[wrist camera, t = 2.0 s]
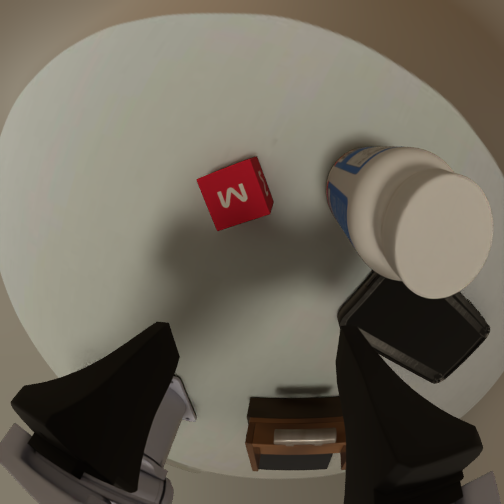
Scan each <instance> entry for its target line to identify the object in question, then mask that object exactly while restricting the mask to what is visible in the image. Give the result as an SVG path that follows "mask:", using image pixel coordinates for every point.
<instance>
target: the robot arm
mask: <svg viewBox="0 0 504 504" xmlns="http://www.w3.org/2000/svg"><path fill="white" fill-rule="evenodd" d="M179 357H180V356H179V353H178V350H177V347H176V344H175V341H174V338H173V334H172V331H171V328H170V324H169V323H166V322H156V323H154V324H153V325H151V326H150V327H148V328H147V329H145V330H144V331H142V332H141V333H140V334H138V335H137V336H135V337H134V338H133V339H131V340H130V341H128V342H127V343H125V344H124V345H123V346H121V347H120V348H118V349H117V350H115V351H113V352H112V353H110V354H109V355H107V356H106V357H104V358H102V359H101V360H99V361H97V362H95V363H93V364H91V365H89V366H87V367H85V368H83V369H81V370H79V371H76V372H74V373H71V374H69V375H66V376H64V377H61V378H57V379H54V380H51V381H47V382H43V383H38V384H32V385H26V386H24V387H22V389H21V390H20V391H19V392H18V393H17V395H16V396H15V397H14V398H13V400H12V401H11V406H12V407H13V409H14V410H15V412H16V413H17V414H18V415H19V416H20V418H21V419H22V420H23V421H24V422H25V423H26V424H27V425H28V426H29V427H30V429H31V430H32V431H34V434H33V436H31V435H30V434H29V433H27V432H26V431H25V430H24V429H22V428H21V427H20V426H19V425H17V424H16V423H14V424H13V425H12V427H11V428H10V430H9V431H8V432H7V434H6V435H5V437H4V438H3V440H2V441H1V442H0V463H1V465H2V466H3V467H4V468H5V469H6V470H7V471H8V472H9V473H10V474H11V475H12V476H13V477H14V479H15V480H16V481H17V482H18V483H19V484H20V485H21V486H22V487H23V488H24V489H25V490H26V491H27V492H28V493H29V494H30V495H31V496H32V497H33V498H34V499H35V500H36V501H37V502H38V503H39V504H172V500H173V493H174V492H173V487H172V485H171V482H170V480H169V479H168V478H166V474H167V472H168V471H167V470H166V469H164V468H163V467H164V464H165V462H166V459H167V457H168V454H169V452H170V449H171V446H172V444H173V441H174V439H175V436H176V433H177V431H178V428H179V426H180V423H181V420H187V421H193V422H194V421H196V419H197V418H196V415H195V413H194V411H193V409H192V406H191V404H190V402H189V399H188V397H187V394H186V392H185V390H184V387H183V385H182V382H181V380H180V379H179V378H178V377H175V376H174V374H175V371H176V368H177V364H178V361H179ZM336 375H337V385H338V391H339V396H340V402H341V408H342V414H343V420H344V426H345V435H346V482H345V496H344V504H501V502H500V497H499V493H498V488H497V484H496V480H495V476H494V473H493V471H490V472H489V473H487V474H485V475H483V476H481V477H479V478H477V479H475V480H473V481H471V482H469V483H467V484H465V485H463V486H462V487H461V483H460V481H461V480H462V479H463V477H464V476H463V472H462V470H463V469H464V468H465V467H467V466H468V465H469V464H470V463H471V462H472V461H474V460H475V459H476V458H477V457H478V456H479V455H480V453H481V451H482V449H483V445H482V442H481V439H480V437H479V434H478V432H477V430H476V427H475V426H473V425H471V424H469V423H467V422H465V421H462V420H460V419H458V418H456V417H454V416H452V415H450V414H448V413H447V412H445V411H443V410H441V409H440V408H438V407H437V406H435V405H433V404H432V403H431V402H429V401H428V400H426V399H425V398H424V397H422V396H421V395H419V394H418V393H417V392H416V391H414V390H413V389H412V388H411V387H410V386H408V385H407V384H406V383H405V382H404V381H403V380H402V379H401V378H400V377H399V376H398V375H397V374H396V373H395V372H394V371H393V370H392V369H391V368H390V367H389V366H388V365H387V364H386V362H385V361H384V360H383V359H382V358H381V357H380V355H379V354H378V353H377V352H376V351H375V349H374V348H373V347H372V346H371V344H370V343H369V342H368V340H367V339H366V338H365V336H364V335H363V334H362V332H361V331H360V330H359V328H358V327H357V326H356V325H346V326H341V328H340V336H339V343H338V350H337V356H336Z"/></svg>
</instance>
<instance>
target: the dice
mask: <svg viewBox="0 0 504 504" xmlns="http://www.w3.org/2000/svg"><path fill="white" fill-rule="evenodd" d="M197 183H198V185H199V188H200V190H201V193H202V195H203V198H204V200H205V202H206V205H207V207H208V210H209V212H210V215H211V217H212V220H213V222H214V224H215V227H216V229H217V231H220V230H223V229H226V228H229V227H232V226H235V225H238V224H241V223H244V222H247V221H250V220H253V219H256V218H259V217H263V216H266V215H269V214H270V213H271V209H272V206H273V199H272V196H271V193H270V191H269V188H268V185H267V182H266V180H265V177H264V174H263V172H262V169H261V166H260V163H259V161H258V158H257V157H253V158H250V159H247V160H244V161H242V162H239V163H236V164H234V165H231V166H228V167H226V168H223V169H221V170H218V171H216V172H213V173H211V174H208V175H206V176H203V177H201V178H198V179H197Z"/></svg>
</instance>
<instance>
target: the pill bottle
mask: <svg viewBox="0 0 504 504" xmlns="http://www.w3.org/2000/svg"><path fill="white" fill-rule="evenodd" d="M326 195H327V201H328V204H329V207H330V209H331V212H332V213H333V215H334V217H335V219H336V220H337V222H338V223H339V225H340V226H341V228H342V229H343V231H344V232H345V234H346V235H347V237H348V239H349V240H350V242H351V243H352V245H353V246H354V248H355V250H356V251H357V253H358V254H359V255H360V257H361V258H362V259H363V261H364V262H365V263H366V264H367V265H368V266H369V267H370V268H371V269H372V270H374V271H375V272H376V273H378V274H380V275H382V276H384V277H386V278H389V279H392V280H397V281H402V282H403V283H404V284H405V285H406V286H407V287H408V288H409V289H410V290H411V291H412V292H414V293H415V294H417V295H419V296H421V297H425V298H430V299H439V298H445V297H448V296H451V295H453V294H455V293H457V292H459V291H460V290H462V289H463V288H465V287H466V286H467V285H468V284H469V283H470V282H471V281H472V280H473V279H474V278H475V277H476V276H477V274H478V273H479V271H480V270H481V268H482V267H483V265H484V263H485V261H486V259H487V256H488V254H489V251H490V247H491V243H492V237H493V218H492V212H491V208H490V205H489V202H488V200H487V198H486V196H485V194H484V192H483V191H482V190H481V188H480V187H479V186H478V185H477V184H476V183H475V182H473V181H472V180H471V179H469V178H467V177H465V176H463V175H460V174H456V173H454V171H453V170H452V169H451V168H450V166H449V165H448V164H447V163H446V162H445V161H443V160H442V159H441V158H440V157H438V156H437V155H435V154H433V153H431V152H429V151H426V150H423V149H419V148H412V147H361V148H357V149H353V150H351V151H349V152H347V153H346V154H344V155H343V156H342V157H341V158H339V159H338V160H337V162H336V163H335V164H334V166H333V167H332V169H331V171H330V173H329V176H328V179H327V185H326Z"/></svg>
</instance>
